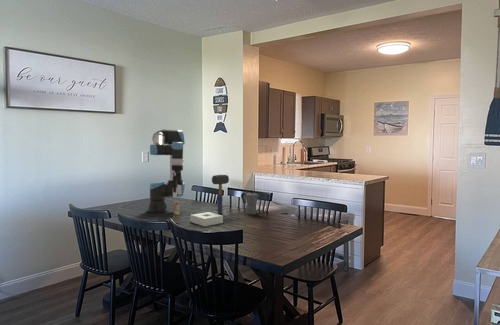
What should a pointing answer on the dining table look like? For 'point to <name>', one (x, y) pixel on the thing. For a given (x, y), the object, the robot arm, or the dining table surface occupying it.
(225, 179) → the rubber mallet
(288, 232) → the dining table surface
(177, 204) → the beech peg
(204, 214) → the socket block
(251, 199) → the coffeepot
